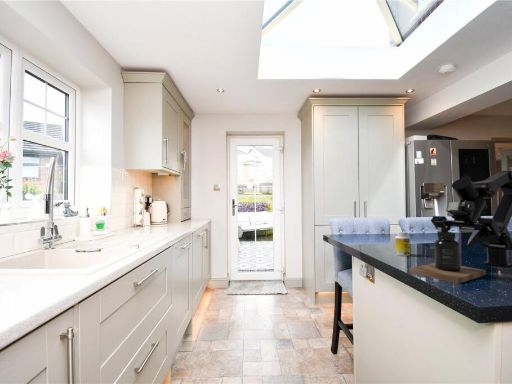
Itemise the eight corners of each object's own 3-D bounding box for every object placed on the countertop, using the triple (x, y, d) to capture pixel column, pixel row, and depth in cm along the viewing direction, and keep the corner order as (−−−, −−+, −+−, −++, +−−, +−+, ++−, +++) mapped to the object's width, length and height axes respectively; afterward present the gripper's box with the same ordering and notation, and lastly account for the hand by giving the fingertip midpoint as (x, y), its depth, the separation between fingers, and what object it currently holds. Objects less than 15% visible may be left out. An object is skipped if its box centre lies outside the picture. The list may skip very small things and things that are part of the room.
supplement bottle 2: (465, 270, 87) (463, 232, 87) (453, 272, 84) (452, 233, 84) (442, 265, 93) (441, 230, 93) (430, 268, 90) (429, 231, 90)
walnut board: (438, 266, 99) (438, 262, 99) (485, 274, 87) (485, 270, 87) (409, 272, 90) (409, 268, 90) (458, 283, 78) (457, 278, 78)
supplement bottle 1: (405, 256, 116) (405, 232, 116) (393, 254, 120) (392, 231, 121) (412, 255, 119) (411, 232, 119) (400, 253, 124) (399, 231, 124)
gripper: (433, 194, 101) (414, 225, 96) (493, 192, 84) (474, 230, 79) (447, 214, 104) (429, 245, 99) (507, 216, 87) (490, 254, 82)
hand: (452, 243), depth 90 cm, fingers open, 9 cm apart
